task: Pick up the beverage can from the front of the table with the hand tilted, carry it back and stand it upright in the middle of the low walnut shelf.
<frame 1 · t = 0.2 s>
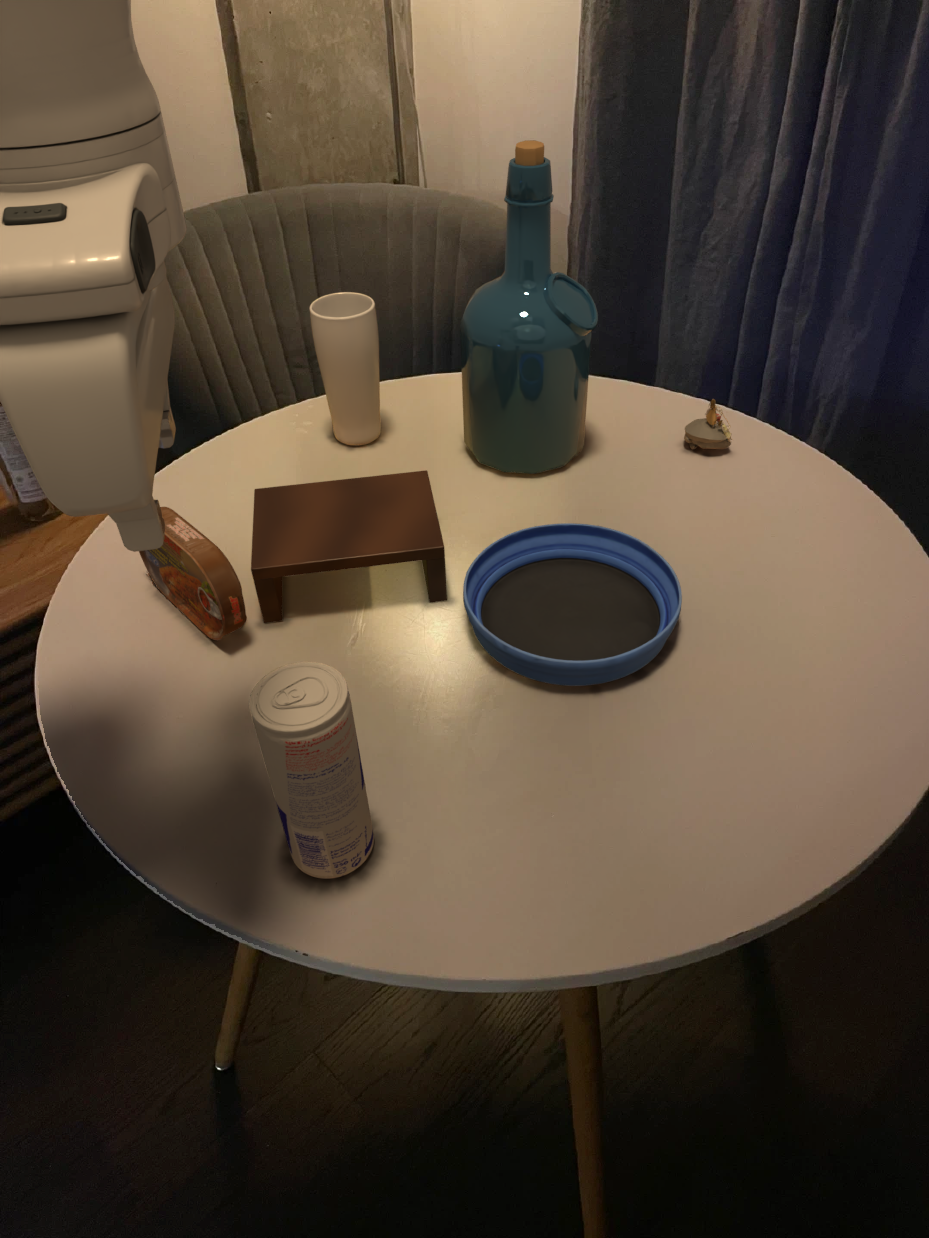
hand: (154, 488, 45), 26 cm above the table, tool pointing down, fingers open, 8 cm apart
beverage can: (333, 847, 60), on the table
wine bottle: (526, 447, 97), on the table
drinking glass: (358, 437, 100), on the table
figurine: (706, 448, 96), on the table
tin: (200, 609, 78), on the table
shelf: (352, 569, 82), on the table
bowl: (569, 618, 76), on the table
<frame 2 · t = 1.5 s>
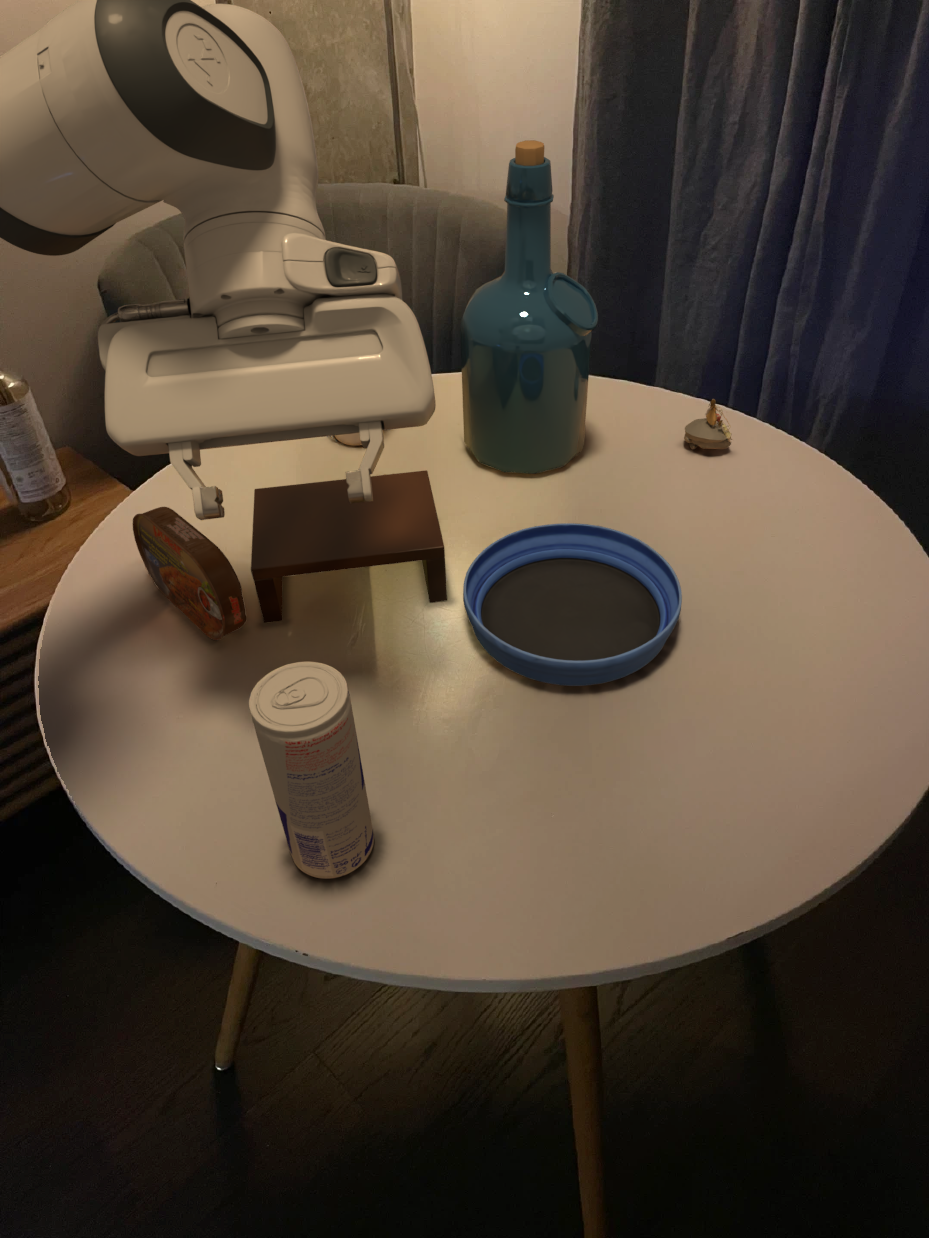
hand: (286, 509, 55), 19 cm above the table, tool tilted 45°, fingers open, 8 cm apart
nothing on the table moved.
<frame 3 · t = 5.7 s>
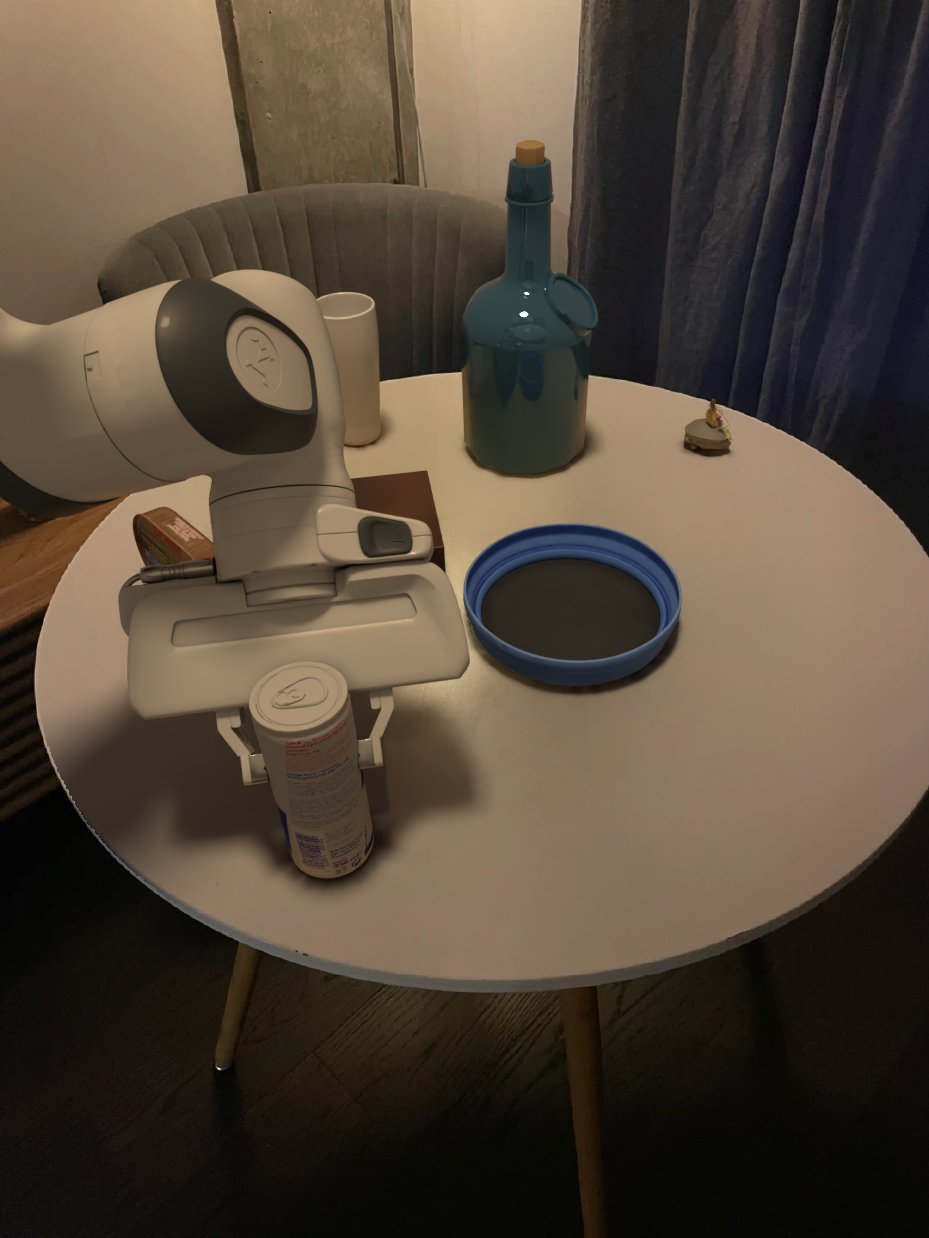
hand: (316, 775, 54), 8 cm above the table, tool tilted 45°, fingers closed on beverage can, 5 cm apart
beverage can: (333, 846, 60), on the table, touching gripper
everything else where it was.
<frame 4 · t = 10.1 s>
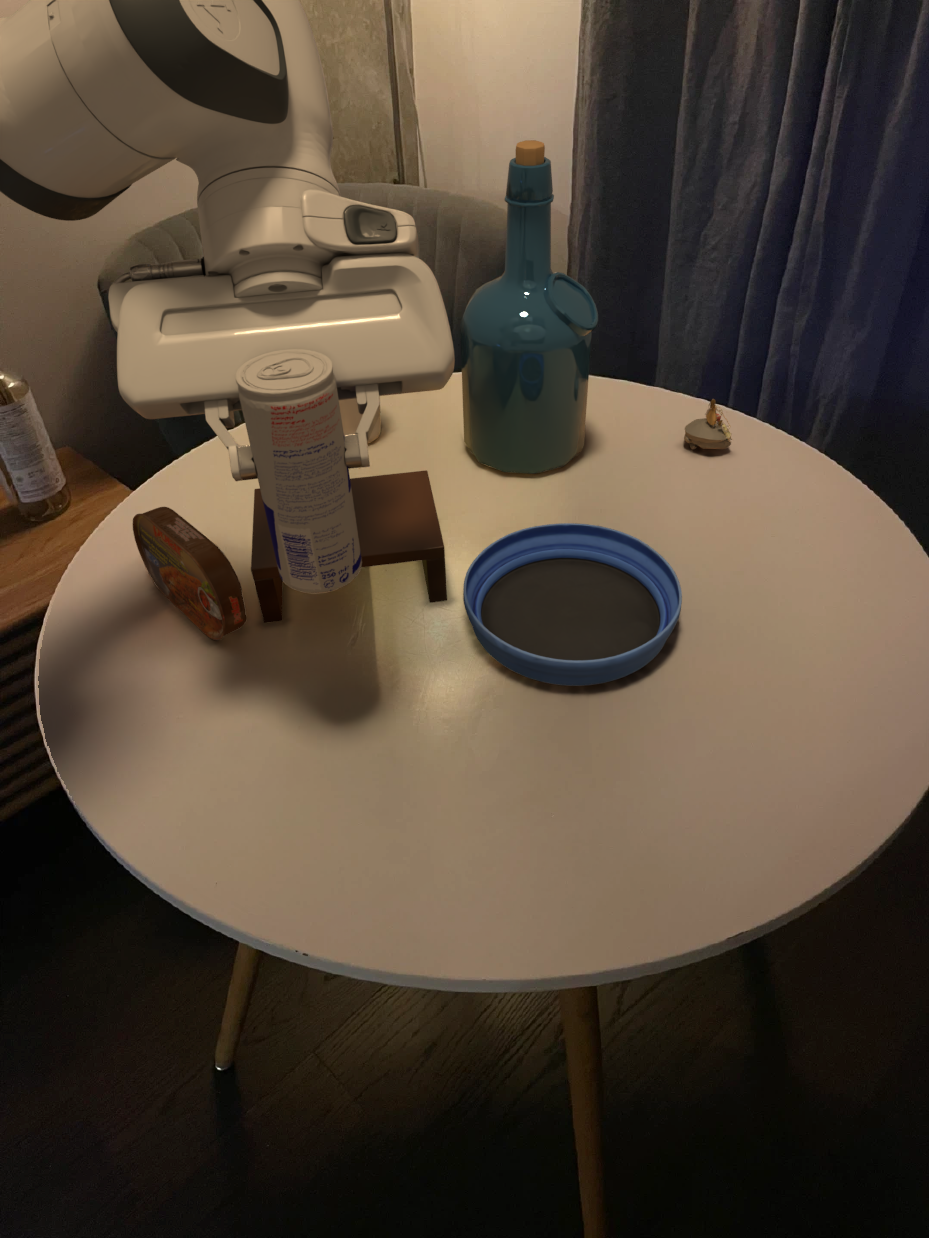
hand: (303, 472, 54), 22 cm above the table, tool tilted 45°, fingers closed on beverage can, 5 cm apart
beverage can: (322, 574, 61), point 13 cm above the table, touching gripper
everything else where it was.
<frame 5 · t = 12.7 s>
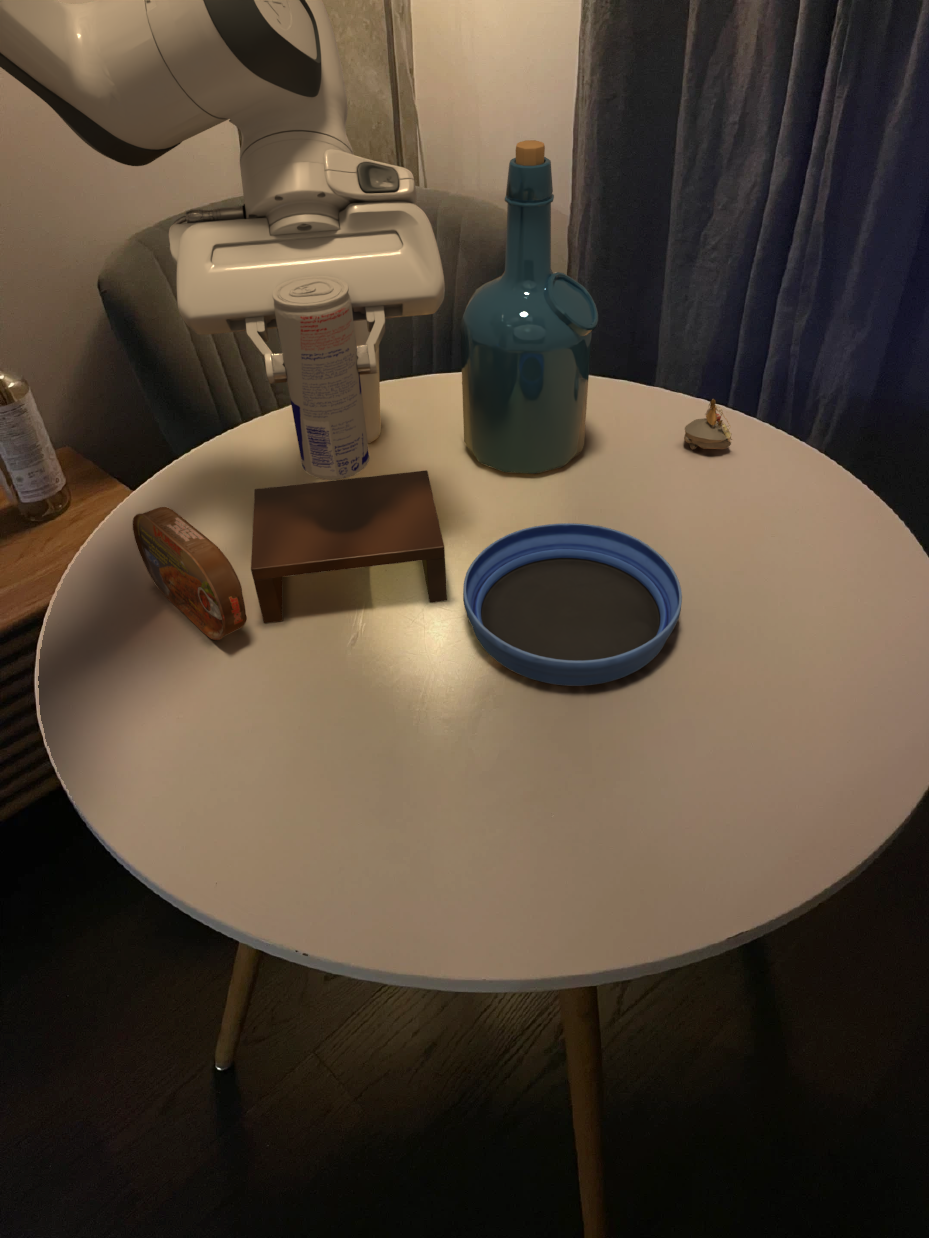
hand: (323, 376, 68), 20 cm above the table, tool tilted 45°, fingers closed on beverage can, 5 cm apart
beverage can: (336, 467, 74), point 11 cm above the table, touching gripper
everything else where it was.
when the fingers open (14 cm above the table, at t = 14.7 s): beverage can stays where it is, resting on shelf.
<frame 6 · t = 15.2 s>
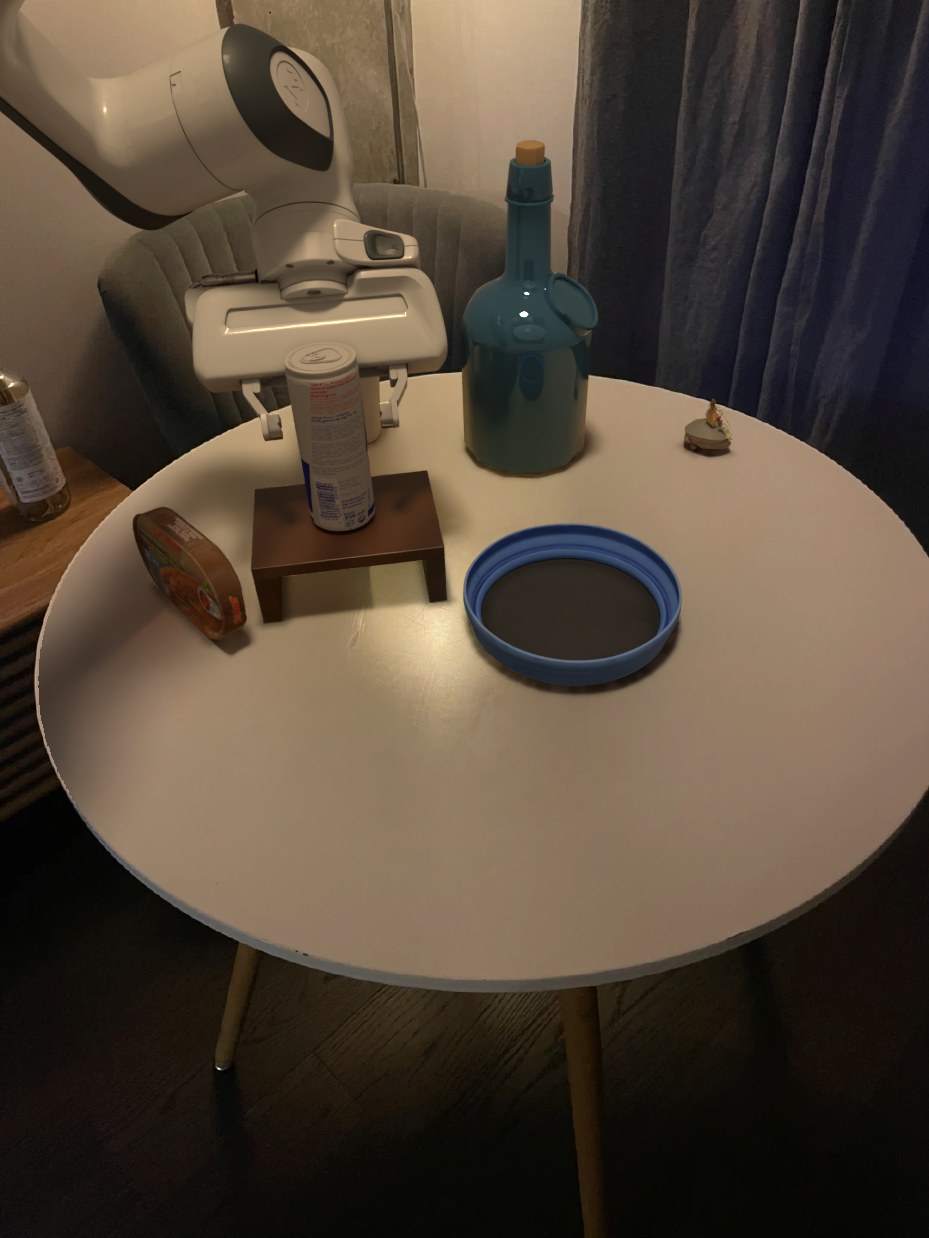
hand: (332, 432, 71), 15 cm above the table, tool tilted 45°, fingers open, 8 cm apart
beverage can: (343, 518, 78), point 6 cm above the table, touching shelf
everything else where it was.
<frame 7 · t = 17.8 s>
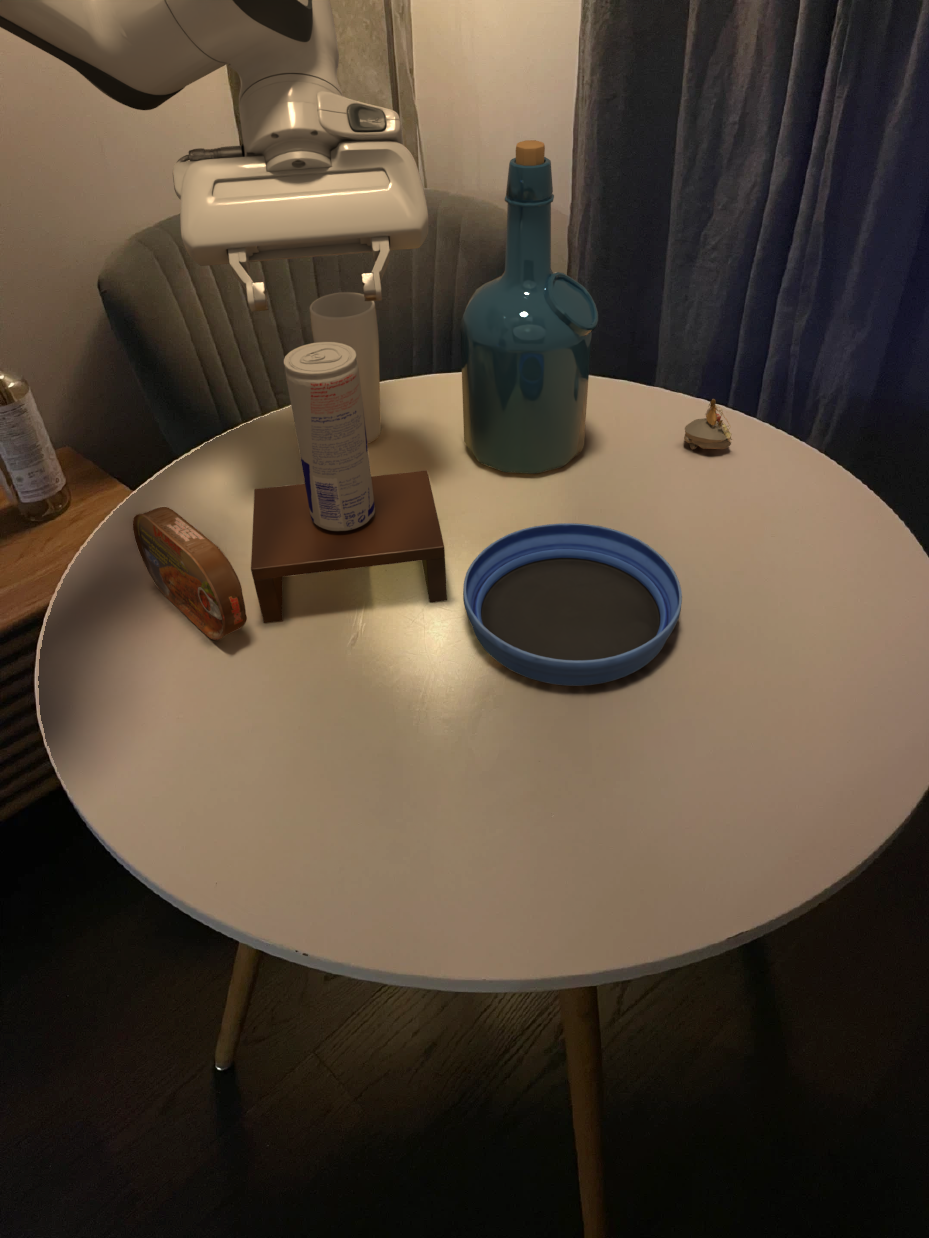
hand: (316, 303, 73), 22 cm above the table, tool tilted 45°, fingers open, 8 cm apart
nothing on the table moved.
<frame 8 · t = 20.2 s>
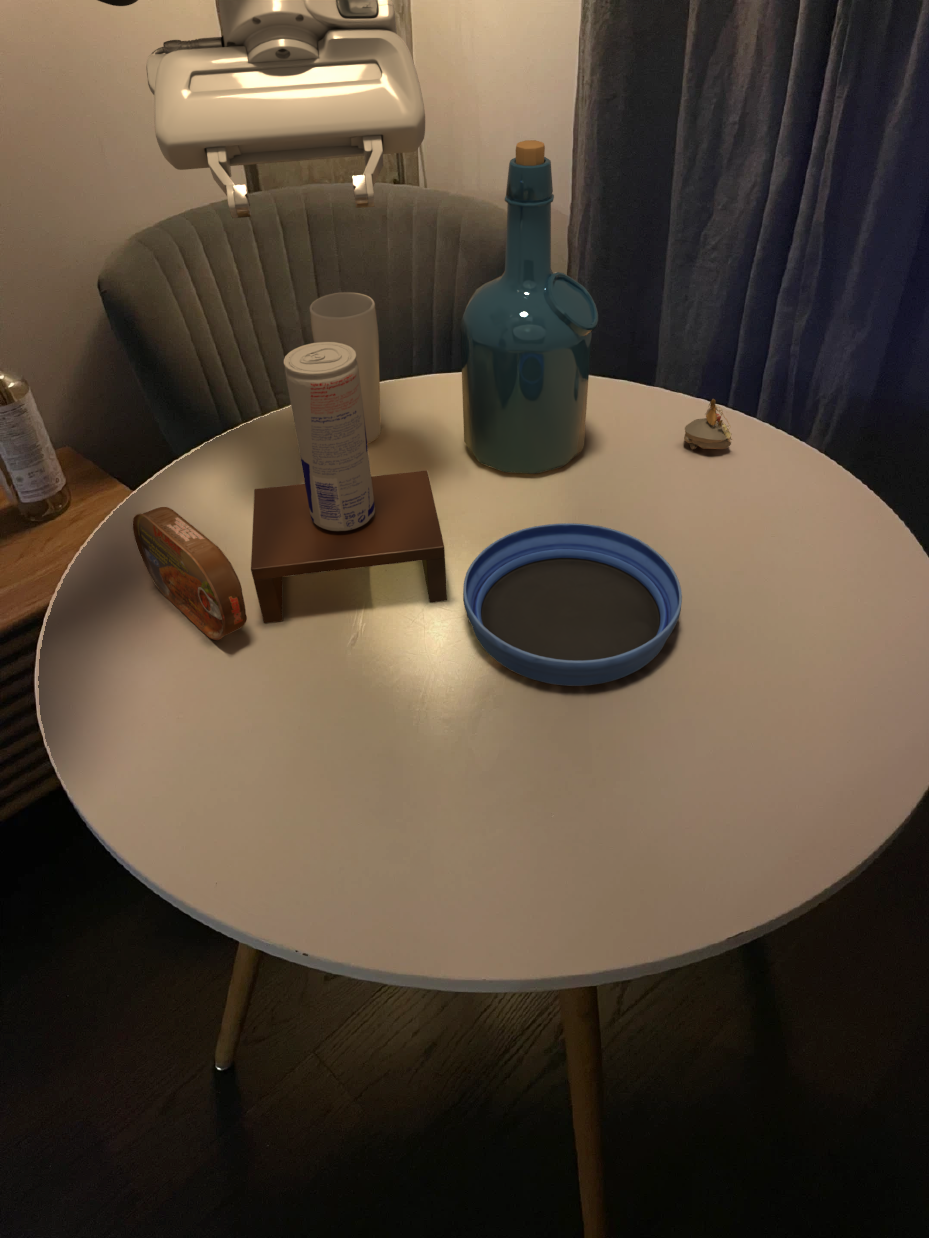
hand: (303, 209, 67), 29 cm above the table, tool tilted 45°, fingers open, 8 cm apart
nothing on the table moved.
at the end: beverage can inside the target area on the shelf (0.1 cm from its centre), point 5.8 cm above the shelf's base; beverage can tilted 0°; the gripper is holding nothing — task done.
